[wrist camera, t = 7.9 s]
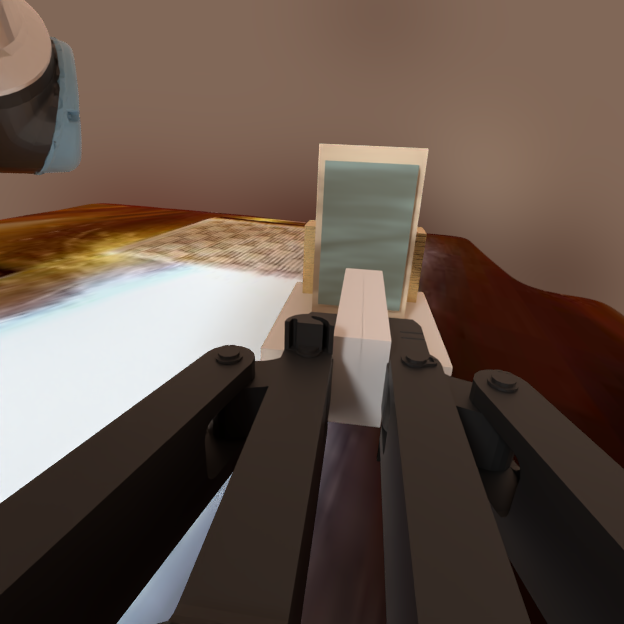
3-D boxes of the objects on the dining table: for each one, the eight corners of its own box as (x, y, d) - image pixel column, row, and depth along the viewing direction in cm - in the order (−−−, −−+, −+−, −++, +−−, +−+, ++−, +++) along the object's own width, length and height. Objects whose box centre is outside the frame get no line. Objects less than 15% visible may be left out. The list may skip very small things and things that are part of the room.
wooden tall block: (404, 324, 29) (429, 148, 25) (310, 315, 30) (318, 143, 25) (399, 302, 33) (420, 149, 29) (317, 295, 34) (325, 144, 30)
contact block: (416, 302, 34) (426, 233, 32) (302, 293, 35) (304, 225, 33) (412, 291, 37) (422, 227, 35) (307, 282, 38) (309, 219, 36)
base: (447, 395, 25) (452, 367, 24) (260, 374, 26) (260, 347, 25) (420, 312, 38) (423, 292, 37) (296, 301, 39) (296, 281, 38)
